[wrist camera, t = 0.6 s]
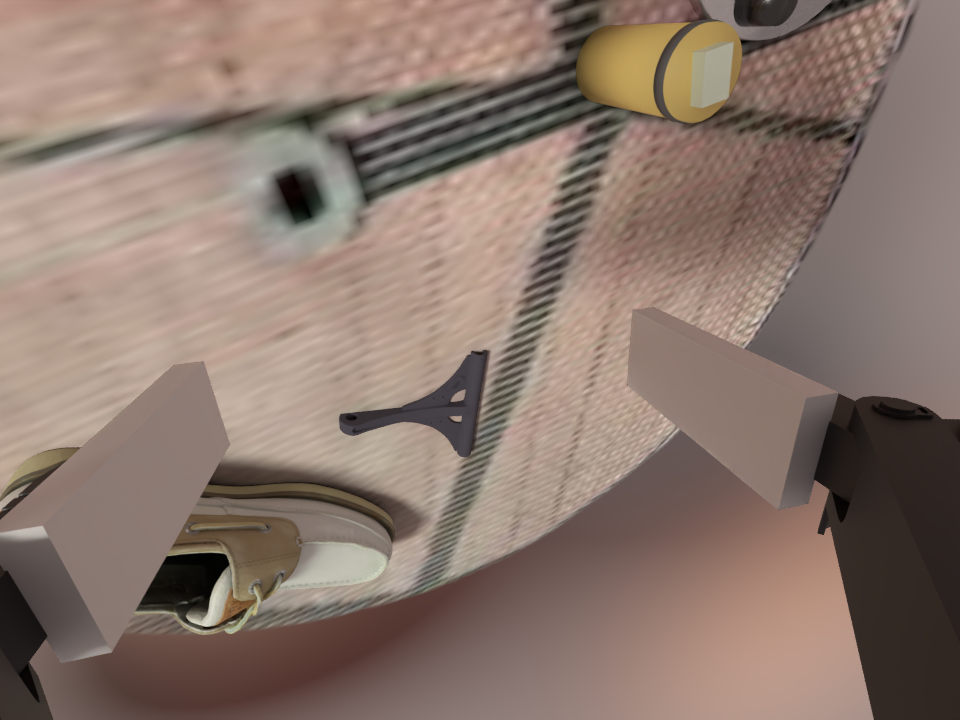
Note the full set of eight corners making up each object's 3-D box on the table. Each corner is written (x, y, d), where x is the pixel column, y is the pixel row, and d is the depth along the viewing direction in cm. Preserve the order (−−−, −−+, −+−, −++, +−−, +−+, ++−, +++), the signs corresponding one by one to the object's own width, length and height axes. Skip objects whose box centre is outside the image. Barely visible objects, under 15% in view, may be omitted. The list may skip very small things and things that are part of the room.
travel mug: (570, 36, 33) (678, 35, 24) (633, 14, 33) (763, 5, 24) (578, 113, 36) (675, 139, 27) (635, 92, 37) (750, 110, 27)
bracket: (335, 355, 42) (337, 373, 40) (484, 346, 47) (493, 361, 45) (341, 463, 50) (343, 482, 48) (468, 445, 55) (475, 462, 53)
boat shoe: (362, 559, 60) (374, 656, 51) (-2, 535, 41) (-91, 683, 31) (409, 491, 55) (432, 584, 46) (25, 428, 36) (-69, 565, 27)
